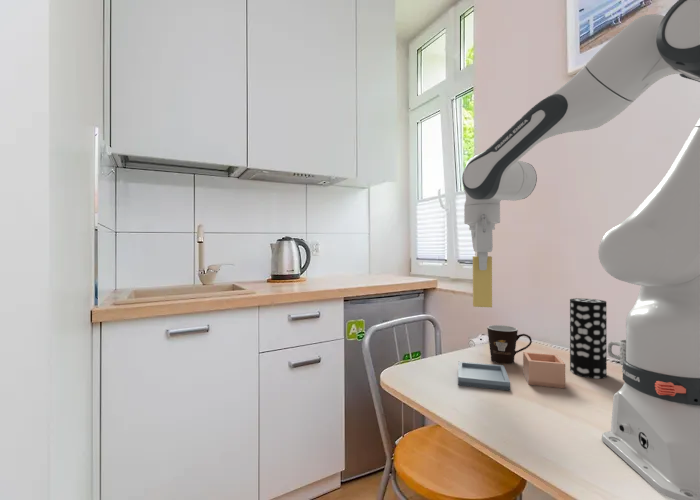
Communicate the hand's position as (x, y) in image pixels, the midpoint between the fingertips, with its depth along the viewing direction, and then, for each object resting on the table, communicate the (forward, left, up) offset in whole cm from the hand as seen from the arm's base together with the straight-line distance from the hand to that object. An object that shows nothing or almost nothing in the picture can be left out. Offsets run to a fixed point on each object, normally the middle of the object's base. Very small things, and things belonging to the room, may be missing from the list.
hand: (482, 269), depth 92 cm
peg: (0, 0, -10) cm, 10 cm away
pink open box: (+3, -15, -29) cm, 33 cm away
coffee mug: (+17, -8, -29) cm, 35 cm away
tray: (0, 0, -29) cm, 29 cm away
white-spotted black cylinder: (+13, -28, -29) cm, 42 cm away
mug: (+26, -42, -29) cm, 57 cm away
